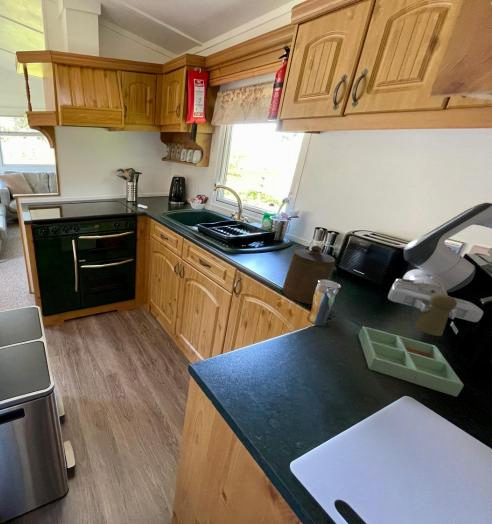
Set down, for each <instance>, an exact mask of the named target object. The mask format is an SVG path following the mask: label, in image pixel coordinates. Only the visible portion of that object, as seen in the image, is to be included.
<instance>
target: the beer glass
mask: <svg viewBox="0 0 492 524" xmlns="http://www.w3.org/2000/svg"><path fill="white" fill-rule="evenodd" d="M341 287H342V285H341V284H340V283H338V282H336V281H334V280H329V279H328V280H325V279H321V280H319V281H318V284H317V286H316V288H315V291H314V294H313V301H312V304H311V308H310V312H309V314H308V315H307V317H306V320H307V321H308V322H309V323H310V324H313V325H315V326H318V327H325V326H327V323H328V317H329V314H330V313H331V311H332V310H333V308H334V307H335V305H336V303H337V301H338V299H339V295H340V291H341V289H342V288H341Z"/></svg>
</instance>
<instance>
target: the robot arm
mask: <svg viewBox="0 0 492 524" xmlns="http://www.w3.org/2000/svg"><path fill="white" fill-rule="evenodd" d="M470 226H479V227H480V226H481V227H485V228H489V229H492V202H483V203H479V204H476V205H474V206H472V207H470V208H468V209H466V210H464V211H462V212H460V213H459V214H458V215H456V216H454V217H452V218H451V219H449V220H447V221H446V222H444V223H441V224H440V225H439V226H437V227H436V228H435V229H432V230H430V231H429V232H427V233H425V234H423V235H421V236H419V237H417V238H415V239H413V240H412V241H410V242H409V243H407V245H405V246H404V248H403V259H404V261H406V262H407V263H409V264H411V265H413V266H414V267H416V268H415V269H411V270H408V271H407V272H405V274H404V275H403V277H402V278H396V279H395V280H394V282H393V283H392V286H391V287H390V290H389V292H388V295H387V299H388V300H389V301H391V302H394V303H398V304H401V305H406V306H409V307H414V308H416V309H418V310H420V312H422V313H424V312H428V311H429V309H430V307H429V305H430V304H431V303H430V298H431V296H432V295H434V294H444V295H447V296H449V295H448V293H451V292H455V291H458V290H460V289H462V288H464V287H465V286H467V285H468V284H470V283H471V282H472V280H473V279H474V276H475V274H476V265H474V264H473V263H471V262H470V261H469V260H467V259H466V258H465V257H463V255H460V254H458V253H457V252H455V251H454V250H453V249H451V248H450V247H448V245H446V244H445V241H447V240H448V239H450V238H451V237H454V236H455V235H456V234H459V233H460V232H463V230H465V229H467V228H469V227H470ZM453 298H454V299H455V300H456V302H457V305H456V306H455V308H453V309H452V310H450V312H449V315H448V319H450V320H454V319H455V318H456V319H460V320H463V321H464V320H465V321H468V322H472V323H478V322H479V321H480V320H481V319H482V317H483V315H484V311H483V309H481V308H480V307H479V306H477V305H476V304H475V303H473V302H471V301H468V300H465V299H461V298H457V297H453Z"/></svg>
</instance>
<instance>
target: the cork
mask: <svg viewBox="0 0 492 524" xmlns="http://www.w3.org/2000/svg"><path fill="white" fill-rule="evenodd" d="M447 295H448V294H447ZM447 295H444V294H434V295H432V296H431V298H430V303H431V304H430V305H429V307H430V309H429V311H428V312H422V314H421V316H420V317H419V318H418V320H417V321H416V322H415V323H414V327H415V328H416V329H418V330H419V331H420V332H423V333H425V334H428V335H431V336H436V337H442V336H443V334H444V331H445V328H446V325H447V322H448V319H449V318H448V315H449V312H450V310H452V309H453V308H455V306H456V305H457V302H456V300H455V299H454V298H455V297H452V296H451V295H448V296H447Z"/></svg>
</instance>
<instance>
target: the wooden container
mask: <svg viewBox="0 0 492 524" xmlns="http://www.w3.org/2000/svg"><path fill="white" fill-rule="evenodd" d="M310 248H311V249H303V248H302V249H301V248H299V249H295V250H294V251H293V254H292V257H291V261H290V264H289V267H288V269H287V273H286V276H285V279H284V283H283V286H282V293H283V295H284V296H286V297H287V298H289V299H290V300H293V301H295V302H298V303H302V304H307V305H312V301H313V294H314V291H315V288H316V286H317V284H318V281H319V280H321V279H325V280H329V279H330V276H331V273H332V269H333V268H334V266H335V263H336V259H335V258H334V257H333V256H332V255H329V254H327V253H324V252H321V251H322V248H321V246H319V245H312V246H311V247H310Z"/></svg>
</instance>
